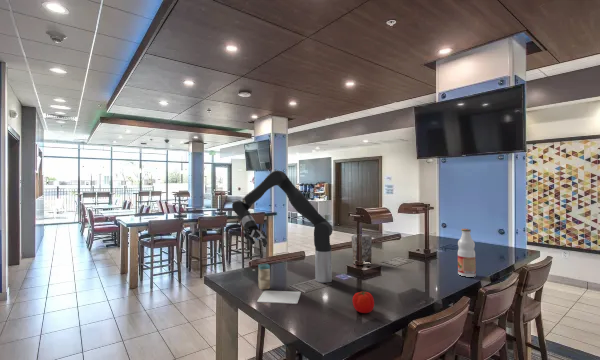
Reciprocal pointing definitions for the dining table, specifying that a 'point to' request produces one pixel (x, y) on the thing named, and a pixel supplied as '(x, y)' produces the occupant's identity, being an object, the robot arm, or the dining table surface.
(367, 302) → the tomato
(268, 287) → the beige tall box
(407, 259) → the dining table surface
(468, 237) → the fruit juice
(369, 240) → the stone block
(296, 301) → the grey mat
